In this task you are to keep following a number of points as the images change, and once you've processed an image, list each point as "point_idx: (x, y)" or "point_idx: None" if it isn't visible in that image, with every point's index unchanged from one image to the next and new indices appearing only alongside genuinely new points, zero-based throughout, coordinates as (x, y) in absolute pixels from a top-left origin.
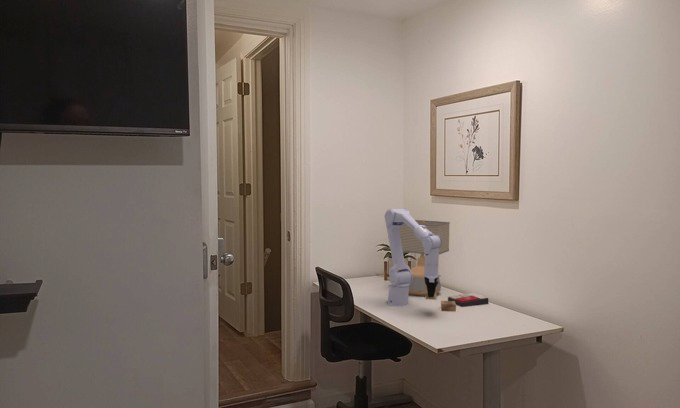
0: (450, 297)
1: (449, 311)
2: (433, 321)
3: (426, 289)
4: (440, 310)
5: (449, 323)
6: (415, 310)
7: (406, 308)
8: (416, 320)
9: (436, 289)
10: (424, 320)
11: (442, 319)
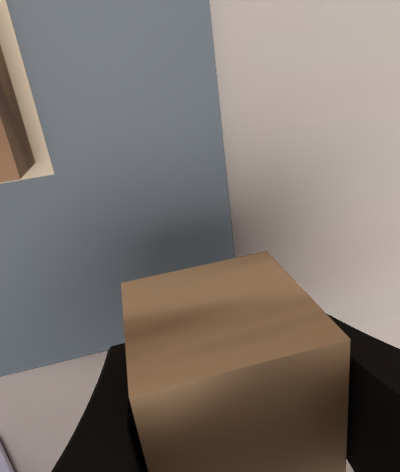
0: None
1: (21, 74)
2: (334, 191)
3: (338, 464)
4: (24, 176)
5: (369, 55)
6: (72, 371)
7: (43, 436)
8: (329, 303)
9: (347, 336)
10: (320, 256)
11: (268, 127)
